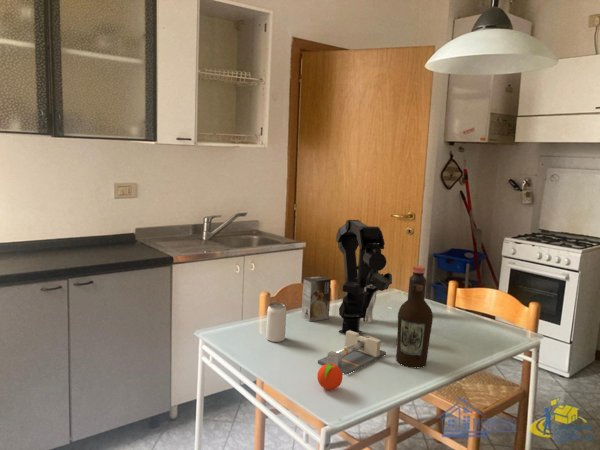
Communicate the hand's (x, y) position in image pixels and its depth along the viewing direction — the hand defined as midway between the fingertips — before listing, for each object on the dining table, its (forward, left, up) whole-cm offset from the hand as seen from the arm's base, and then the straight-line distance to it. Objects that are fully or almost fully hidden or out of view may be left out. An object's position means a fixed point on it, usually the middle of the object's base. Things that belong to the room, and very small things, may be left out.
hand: (363, 309), depth 165 cm
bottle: (-48, -5, -13) cm, 50 cm away
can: (+17, -24, -13) cm, 32 cm away
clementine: (+33, +11, -13) cm, 37 cm away
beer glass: (-24, -14, -13) cm, 31 cm away
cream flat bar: (+6, +4, -12) cm, 14 cm away
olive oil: (-1, +18, -13) cm, 23 cm away
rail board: (+11, +4, -13) cm, 18 cm away
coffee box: (-11, -29, -13) cm, 33 cm away
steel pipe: (+11, +4, -13) cm, 18 cm away
